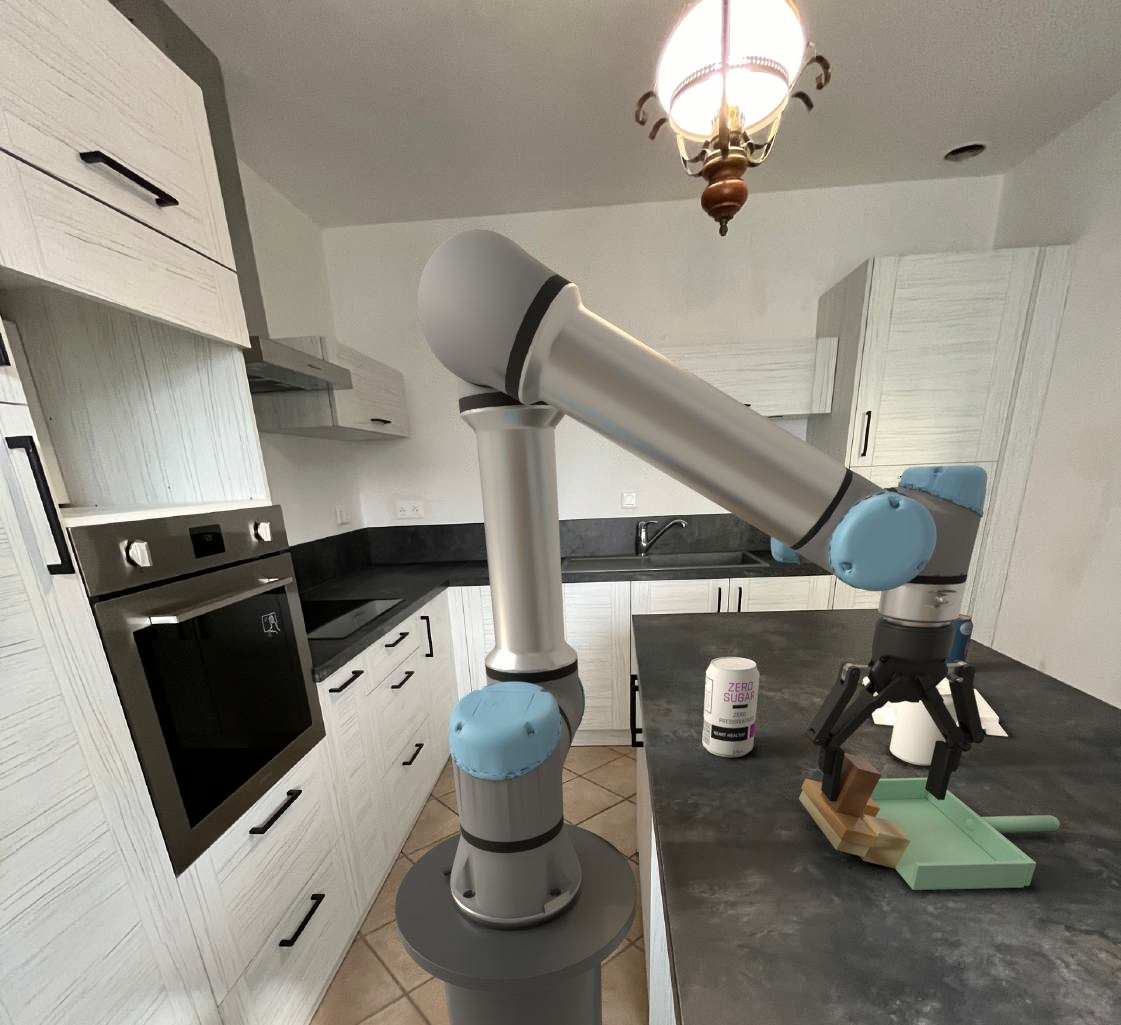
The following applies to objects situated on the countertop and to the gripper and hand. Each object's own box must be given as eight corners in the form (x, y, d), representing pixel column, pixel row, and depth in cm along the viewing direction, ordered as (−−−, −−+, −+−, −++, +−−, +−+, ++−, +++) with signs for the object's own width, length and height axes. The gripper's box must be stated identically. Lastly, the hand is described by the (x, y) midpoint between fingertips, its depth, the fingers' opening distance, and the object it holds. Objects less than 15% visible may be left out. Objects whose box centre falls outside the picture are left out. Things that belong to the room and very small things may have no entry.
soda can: (970, 672, 130) (982, 619, 125) (938, 673, 130) (948, 620, 126) (952, 663, 136) (963, 612, 132) (921, 664, 137) (931, 613, 132)
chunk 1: (837, 827, 74) (851, 800, 73) (824, 810, 78) (837, 784, 76) (866, 834, 74) (880, 808, 73) (852, 817, 78) (865, 792, 77)
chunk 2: (863, 861, 68) (879, 832, 66) (847, 840, 71) (862, 813, 70) (894, 868, 68) (911, 840, 67) (877, 848, 72) (893, 821, 70)
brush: (835, 850, 67) (870, 783, 64) (796, 797, 78) (824, 737, 75) (867, 858, 67) (903, 792, 64) (824, 804, 78) (853, 745, 75)
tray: (966, 683, 124) (970, 666, 122) (1008, 742, 100) (1013, 722, 98) (858, 675, 130) (861, 660, 129) (873, 729, 106) (877, 710, 105)
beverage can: (944, 773, 88) (961, 699, 84) (884, 760, 93) (897, 688, 89) (950, 753, 94) (966, 683, 90) (893, 741, 99) (906, 674, 95)
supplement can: (724, 734, 104) (730, 652, 99) (763, 749, 98) (771, 664, 92) (691, 746, 100) (696, 662, 95) (730, 763, 94) (736, 674, 88)
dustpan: (913, 890, 65) (918, 865, 63) (837, 799, 82) (840, 779, 81) (1122, 885, 64) (1131, 860, 63) (1000, 795, 82) (1006, 775, 81)
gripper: (817, 629, 60) (791, 812, 68) (1057, 625, 60) (1004, 810, 67) (790, 613, 67) (770, 781, 75) (1005, 610, 67) (963, 779, 74)
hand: (881, 795), depth 71 cm, fingers open, 12 cm apart
